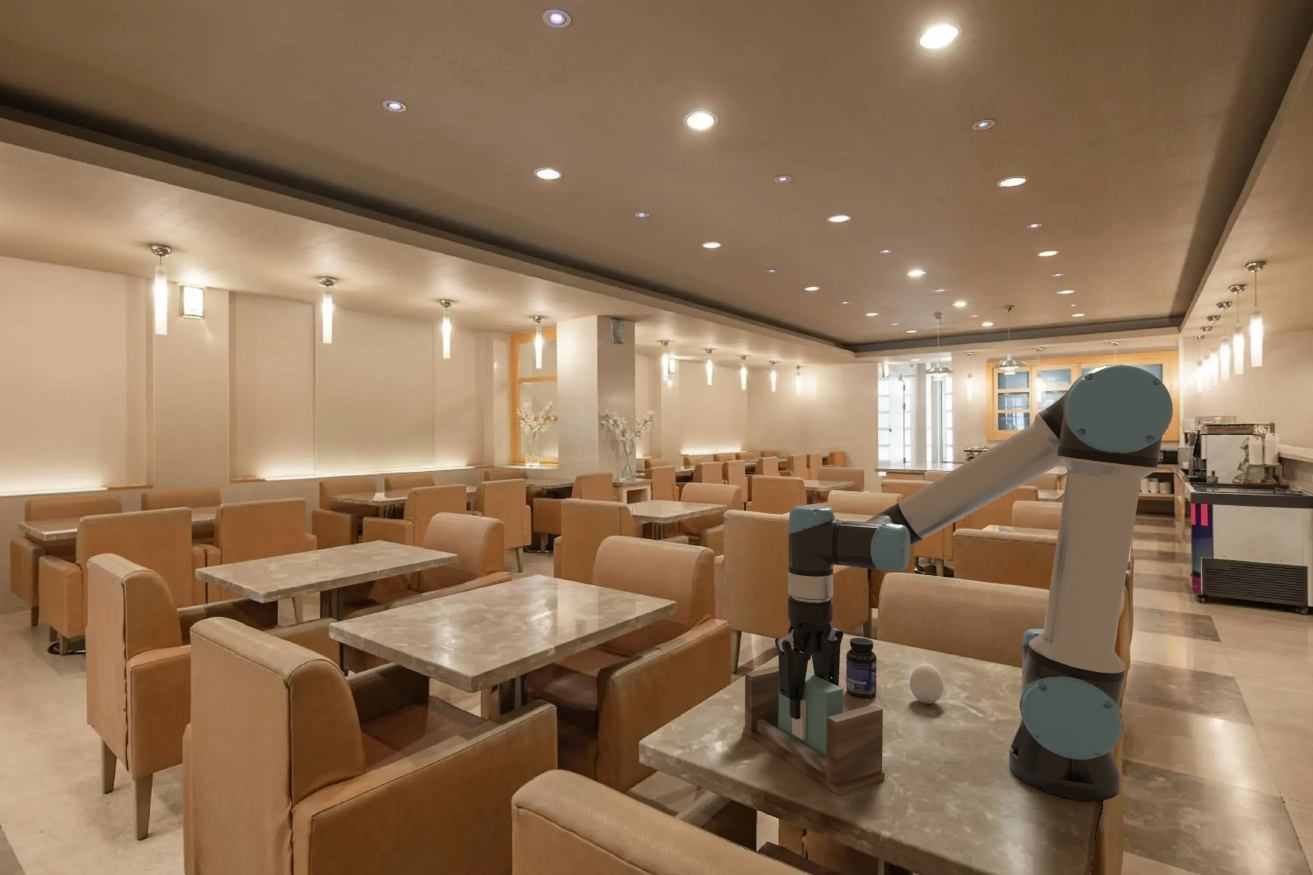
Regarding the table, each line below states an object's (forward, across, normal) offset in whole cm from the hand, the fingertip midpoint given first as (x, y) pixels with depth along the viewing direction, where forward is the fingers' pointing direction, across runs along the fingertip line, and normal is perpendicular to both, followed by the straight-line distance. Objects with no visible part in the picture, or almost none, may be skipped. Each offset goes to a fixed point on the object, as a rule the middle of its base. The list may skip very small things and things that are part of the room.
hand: (809, 732), depth 114 cm
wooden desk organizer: (+4, 0, 0) cm, 4 cm away
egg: (+4, -36, -5) cm, 37 cm away
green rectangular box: (+3, 0, 0) cm, 3 cm away
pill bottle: (+4, -28, -15) cm, 32 cm away
